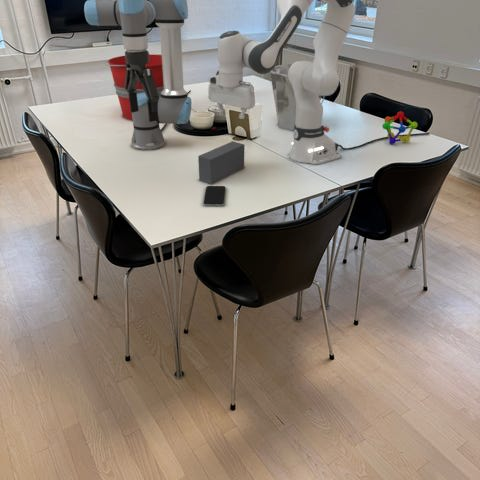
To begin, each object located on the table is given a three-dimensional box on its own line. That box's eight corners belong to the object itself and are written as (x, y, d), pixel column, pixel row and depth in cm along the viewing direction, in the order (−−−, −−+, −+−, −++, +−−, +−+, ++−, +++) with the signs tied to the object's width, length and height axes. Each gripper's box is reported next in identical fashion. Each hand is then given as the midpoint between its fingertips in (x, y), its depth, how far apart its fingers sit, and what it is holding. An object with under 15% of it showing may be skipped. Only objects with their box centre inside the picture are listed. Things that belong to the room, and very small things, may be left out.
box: (211, 184, 170) (210, 159, 165) (199, 180, 173) (198, 155, 168) (244, 167, 184) (244, 144, 179) (232, 164, 188) (232, 141, 182)
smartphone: (203, 204, 154) (206, 185, 167) (203, 205, 155) (206, 187, 167) (223, 204, 154) (225, 185, 167) (223, 206, 155) (225, 187, 167)
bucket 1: (122, 105, 263) (114, 51, 248) (180, 106, 263) (177, 52, 247) (105, 123, 234) (95, 63, 218) (171, 124, 233) (166, 64, 217)
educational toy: (377, 146, 209) (379, 114, 202) (384, 138, 219) (386, 107, 211) (411, 149, 202) (415, 116, 195) (417, 141, 212) (420, 109, 204)
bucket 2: (296, 138, 215) (301, 78, 201) (255, 124, 234) (256, 68, 219) (335, 125, 232) (342, 70, 217) (294, 113, 251) (297, 61, 236)
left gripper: (166, 54, 135) (171, 122, 147) (129, 44, 152) (136, 106, 163) (144, 57, 131) (151, 127, 143) (109, 46, 148) (118, 109, 159)
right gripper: (258, 81, 161) (258, 119, 168) (215, 74, 171) (217, 110, 179) (248, 85, 157) (248, 123, 164) (204, 77, 167) (207, 114, 175)
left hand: (143, 116), depth 153 cm, fingers open, 13 cm apart
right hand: (232, 116), depth 172 cm, fingers open, 8 cm apart
